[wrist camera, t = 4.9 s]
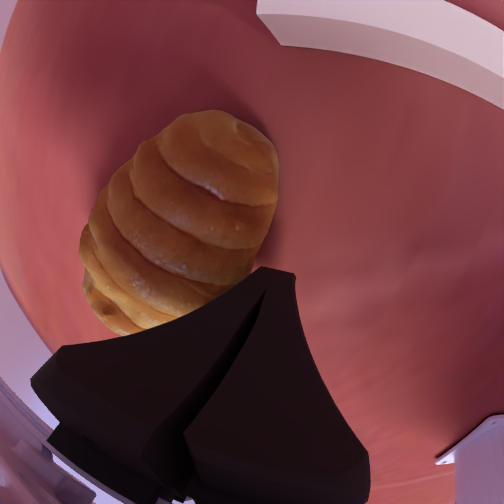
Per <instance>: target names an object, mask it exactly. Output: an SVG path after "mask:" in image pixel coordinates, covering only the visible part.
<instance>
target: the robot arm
mask: <svg viewBox="0 0 504 504" xmlns="http://www.w3.org/2000/svg"><path fill="white" fill-rule="evenodd" d="M295 280H296V276H295V275H294V273H289V272H285V271H280V270H276V269H272V268H267V267H263V266H261V267H260V268H258V269H257V270H255V271H254V272H253V273H251V274H250V275H249V276H247V277H246V278H245V279H243V280H242V281H241V282H239V283H238V284H236V285H235V286H234V287H232V288H231V289H229V290H228V291H226V292H225V293H223V294H222V295H220V296H218V297H217V298H215V299H213V300H212V301H210V302H208V303H207V304H205V305H203V306H201V307H200V308H198V309H196V310H194V311H192V312H190V313H188V314H186V315H183V316H181V317H179V318H177V319H174V320H172V321H169V322H167V323H164V324H161V325H158V326H155V327H152V328H149V329H147V330H144V331H140V332H137V333H133V334H130V335H126V336H122V337H117V338H113V339H108V340H103V341H97V342H90V343H82V344H74V345H64V346H62V347H61V348H60V349H58V350H57V352H56V353H55V354H54V355H53V356H52V357H51V358H50V359H49V360H48V361H47V362H46V363H45V364H44V365H43V366H42V367H41V368H40V369H39V370H38V371H37V372H36V373H35V374H34V375H33V377H32V378H31V387H32V388H33V390H34V392H35V393H36V394H37V396H38V397H39V399H40V400H41V401H42V402H43V403H44V405H45V406H46V407H47V408H48V409H49V411H50V412H51V413H52V414H53V415H54V416H55V418H56V419H57V420H58V421H59V422H60V423H59V425H58V426H57V427H56V428H55V430H53V429H52V428H50V427H49V426H48V425H47V424H46V423H45V422H43V421H42V420H41V419H40V418H39V417H38V416H37V415H36V414H35V413H34V412H33V411H32V410H31V409H29V407H28V406H27V405H26V404H25V403H24V402H23V401H22V400H21V399H20V398H19V397H18V396H17V395H16V394H15V393H14V392H13V391H12V390H11V389H10V387H8V385H7V384H6V383H5V382H4V381H3V380H2V379H1V377H0V504H95V503H94V502H92V501H93V500H94V498H95V497H96V493H95V492H94V491H93V490H91V489H90V488H89V487H87V486H86V485H85V484H84V483H82V482H81V481H79V480H78V479H77V478H75V477H74V476H73V475H71V474H69V473H68V472H67V471H65V470H64V469H63V468H61V467H60V466H59V465H57V464H56V463H55V462H54V461H53V455H52V453H53V454H54V455H55V456H57V457H58V458H59V459H60V460H61V461H63V462H64V463H65V464H66V465H68V466H69V467H70V468H72V469H73V470H74V471H75V472H77V473H78V474H80V475H81V476H82V477H84V478H85V479H87V480H88V481H90V482H91V483H92V484H94V485H95V486H97V487H98V488H100V489H101V490H103V491H104V492H106V493H108V494H109V495H111V496H112V497H114V498H116V499H117V500H119V501H121V502H123V503H124V504H172V501H173V499H174V500H176V501H179V502H181V503H184V501H188V500H192V499H193V500H194V502H195V504H365V503H366V502H367V501H368V498H369V493H370V483H371V480H370V464H369V455H368V452H367V450H366V449H365V448H364V446H363V445H362V443H361V442H360V441H359V439H358V438H357V437H356V435H355V434H354V432H353V431H352V429H351V428H350V427H349V425H348V424H347V422H346V421H345V419H344V417H343V416H342V414H341V412H340V411H339V409H338V408H337V406H336V404H335V403H334V401H333V399H332V397H331V395H330V393H329V391H328V389H327V387H326V385H325V384H324V382H323V380H322V378H321V376H320V374H319V371H318V369H317V367H316V365H315V362H314V360H313V357H312V355H311V352H310V350H309V347H308V344H307V341H306V338H305V335H304V331H303V328H302V324H301V320H300V316H299V311H298V306H297V301H296V292H295ZM448 463H454V466H455V504H504V415H495V416H491V417H489V418H487V419H486V420H485V421H484V422H483V423H482V424H480V425H479V426H478V427H477V428H476V429H475V430H474V431H473V432H471V433H470V434H469V435H468V436H467V437H465V438H464V439H463V440H462V441H460V442H459V443H458V444H457V445H455V446H454V447H453V448H451V449H450V450H449V451H447V452H446V453H445V454H443V455H442V456H441V457H439V458H438V459H436V460H435V464H436V465H438V464H448Z"/></svg>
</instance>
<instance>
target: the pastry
mask: <svg viewBox="0 0 504 504" xmlns="http://www.w3.org/2000/svg"><path fill="white" fill-rule="evenodd" d="M279 172H280V171H279V161H278V156H277V153H276V150H275V147H274V145H273V144H272V143H271V142H270V141H269V140H268V139H267V138H266V137H265V136H264V135H263V134H262V133H261V132H260V131H259V130H257V129H256V128H254V127H253V126H251V125H249V124H247V123H245V122H243V121H241V120H239V119H237V118H235V117H234V116H232V115H231V114H229V113H227V112H224V111H221V110H207V111H198V112H195V113H186V114H182V115H180V116H179V117H177V118H176V119H175V120H174V121H173V122H172V123H171V124H169V125H168V126H167V127H166V128H164V129H163V130H162V131H161V132H160V133H159V134H157V135H156V136H155V137H152V138H150V139H147V140H145V141H143V142H141V143H140V144H139V146H138V149H137V151H136V153H135V154H134V156H133V157H132V158H131V159H130V160H128V161H127V162H125V163H124V164H123V165H122V166H121V167H119V168H118V169H117V171H116V172H115V173H114V174H113V175H112V177H111V179H110V182H109V183H108V185H107V186H106V187H104V188H103V189H102V190H101V191H100V193H99V195H98V197H97V200H96V203H95V206H94V208H93V209H92V211H91V213H90V216H89V220H88V224H87V225H86V226H85V227H84V229H83V231H82V234H81V238H80V246H79V256H80V259H81V261H82V262H83V264H84V266H85V278H84V281H83V285H82V287H83V290H84V293H85V297H86V299H87V301H88V303H89V304H90V306H91V308H92V310H93V312H94V313H95V314H96V315H97V316H98V317H99V318H100V320H101V321H102V322H103V323H104V324H105V326H107V327H108V328H109V329H110V330H112V331H114V332H115V333H117V334H119V335H122V336H126V335H130V334H133V333H137V332H140V331H144V330H147V329H149V328H152V327H155V326H158V325H161V324H164V323H167V322H169V321H172V320H174V319H177V318H179V317H181V316H183V315H186V314H188V313H190V312H192V311H194V310H196V309H198V308H200V307H201V306H203V305H205V304H207V303H208V302H210V301H212V300H213V299H215V298H217V297H218V296H220V295H222V294H223V293H225V292H226V291H228V290H229V289H231V288H232V287H234V286H235V285H236V284H238V283H239V282H241V281H242V280H243V279H245V278H246V277H247V276H249V275H250V273H251V271H252V268H253V264H254V261H255V258H256V255H257V253H258V251H259V249H260V247H261V245H262V243H263V240H264V238H265V236H266V235H267V233H268V231H269V228H270V224H271V221H272V219H273V216H274V213H275V210H276V207H277V202H278V183H279Z"/></svg>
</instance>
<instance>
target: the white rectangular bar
mask: <svg viewBox="0 0 504 504" xmlns="http://www.w3.org/2000/svg"><path fill="white" fill-rule="evenodd" d="M256 15H257V16H258V17H259V18H260V19H261V21H262V22H263V23H264V24H265V25H266V27H267V28H268V29H269V30H270V32H271V33H272V34H273V35H274V37H275V38H276V39H277V41H278V42H279V43H280V45H282V46H296V47H306V48H315V49H323V50H330V51H336V52H342V53H348V54H353V55H358V56H363V57H367V58H372V59H376V60H380V61H384V62H388V63H391V64H395V65H398V66H402V67H405V68H408V69H412V70H415V71H418V72H421V73H424V74H426V75H429V76H432V77H435V78H437V79H440V80H443V81H445V82H448V83H450V84H452V85H455V86H457V87H459V88H462V89H464V90H466V91H468V92H470V93H472V94H475V95H477V96H479V97H481V98H483V99H485V100H487V101H488V102H490V103H492V104H494V105H496V106H498V107H500V108H501V109H503V110H504V31H502V30H501V29H499V28H497V27H496V26H494V25H492V24H491V23H489V22H487V21H485V20H484V19H482V18H480V17H478V16H476V15H474V14H472V13H470V12H468V11H466V10H464V9H462V8H460V7H458V6H456V5H453V4H451V3H449V2H446V1H444V0H258V1H257V10H256Z"/></svg>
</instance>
